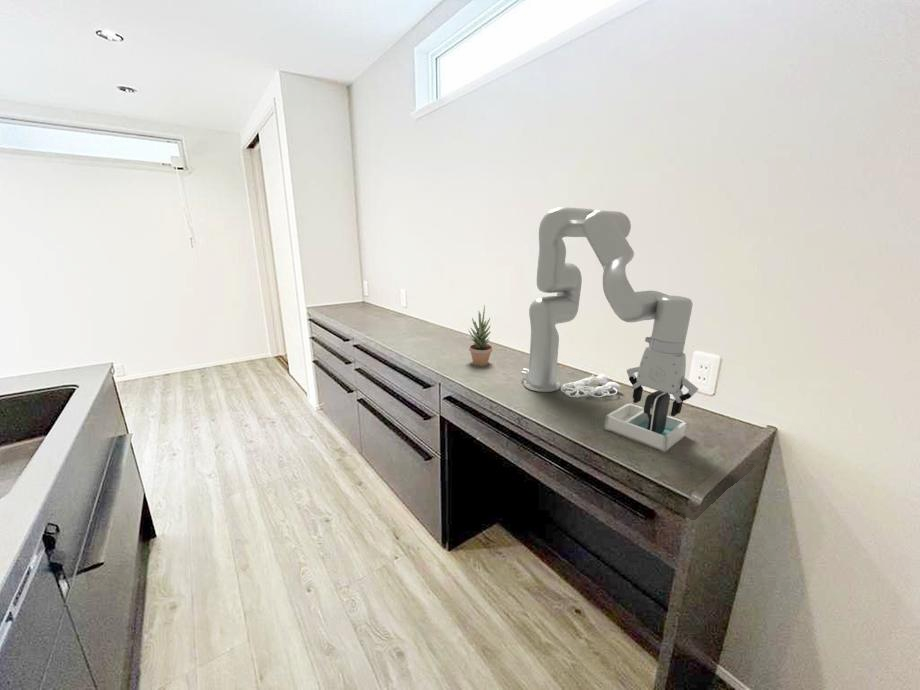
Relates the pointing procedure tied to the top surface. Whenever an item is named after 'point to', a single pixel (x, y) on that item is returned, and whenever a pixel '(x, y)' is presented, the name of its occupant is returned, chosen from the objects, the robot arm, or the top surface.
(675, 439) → the divided compartment box
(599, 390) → the tangled rod sculpture
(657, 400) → the battery charger
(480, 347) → the potted plant
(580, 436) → the top surface
